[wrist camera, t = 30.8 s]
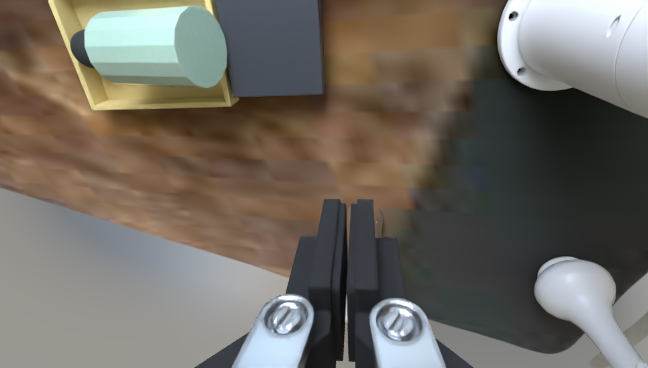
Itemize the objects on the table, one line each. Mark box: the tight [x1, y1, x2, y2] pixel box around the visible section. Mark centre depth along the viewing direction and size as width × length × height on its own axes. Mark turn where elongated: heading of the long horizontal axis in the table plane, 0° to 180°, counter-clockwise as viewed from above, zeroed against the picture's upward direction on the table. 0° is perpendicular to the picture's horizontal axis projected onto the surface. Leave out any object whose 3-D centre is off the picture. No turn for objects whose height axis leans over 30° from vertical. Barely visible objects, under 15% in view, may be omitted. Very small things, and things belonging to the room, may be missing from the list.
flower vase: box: [534, 256, 648, 368], centre depth 36 cm, size 13×18×25 cm
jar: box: [84, 6, 227, 88], centre depth 33 cm, size 7×7×11 cm
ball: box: [70, 29, 95, 68], centre depth 36 cm, size 4×4×4 cm
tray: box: [48, 0, 239, 110], centre depth 36 cm, size 17×13×3 cm
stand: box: [215, 0, 326, 97], centre depth 35 cm, size 10×11×3 cm
